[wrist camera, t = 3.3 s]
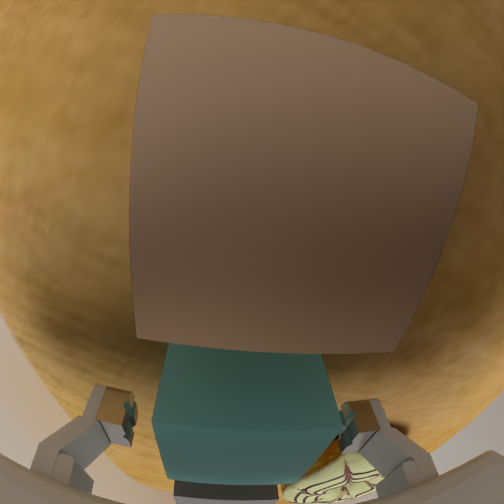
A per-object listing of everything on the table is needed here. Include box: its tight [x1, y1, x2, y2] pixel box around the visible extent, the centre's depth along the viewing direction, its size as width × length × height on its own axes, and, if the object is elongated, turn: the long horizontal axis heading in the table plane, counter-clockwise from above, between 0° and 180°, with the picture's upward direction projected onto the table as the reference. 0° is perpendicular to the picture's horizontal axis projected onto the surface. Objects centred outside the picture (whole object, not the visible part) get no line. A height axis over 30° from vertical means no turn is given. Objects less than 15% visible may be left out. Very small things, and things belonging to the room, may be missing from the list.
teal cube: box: [152, 343, 343, 485], centre depth 10 cm, size 5×5×5 cm
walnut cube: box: [129, 14, 478, 354], centre depth 6 cm, size 5×5×5 cm
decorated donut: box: [281, 438, 384, 504], centre depth 16 cm, size 10×11×4 cm
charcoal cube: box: [174, 480, 279, 504], centre depth 13 cm, size 5×5×5 cm
